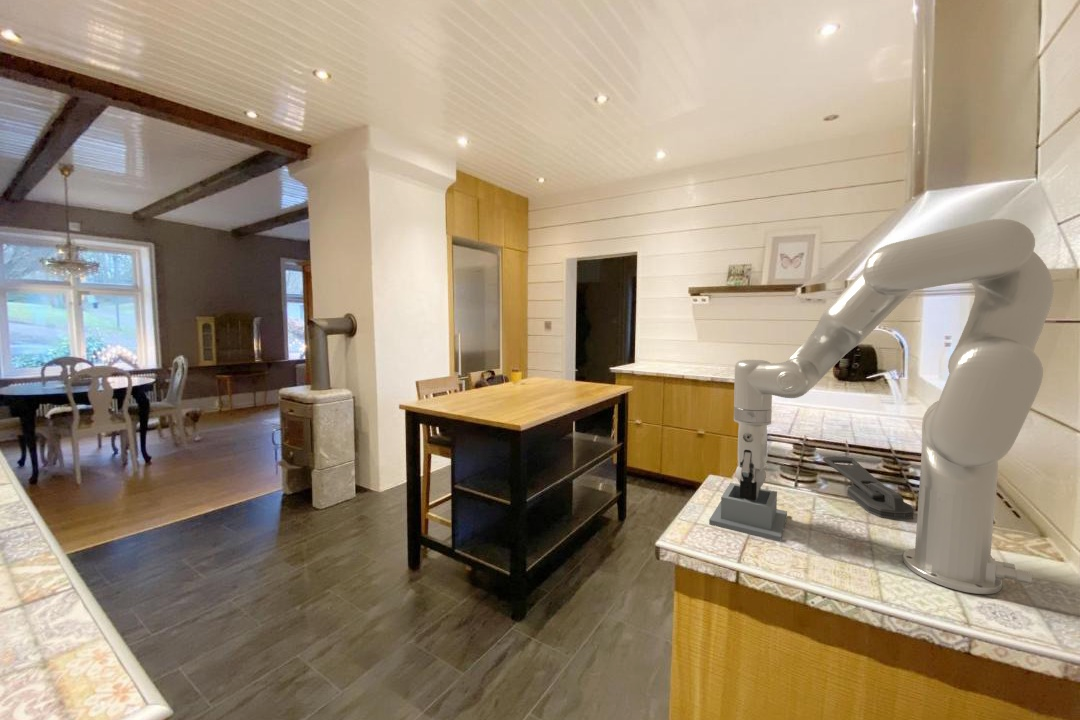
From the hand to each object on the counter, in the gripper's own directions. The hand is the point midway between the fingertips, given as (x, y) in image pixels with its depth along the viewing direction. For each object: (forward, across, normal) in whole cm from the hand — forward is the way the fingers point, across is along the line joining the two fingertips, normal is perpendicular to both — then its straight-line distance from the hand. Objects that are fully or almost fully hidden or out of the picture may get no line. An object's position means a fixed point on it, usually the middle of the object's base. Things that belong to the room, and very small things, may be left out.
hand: (750, 492), depth 96 cm
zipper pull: (+7, +29, -22) cm, 37 cm away
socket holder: (+6, 0, 0) cm, 6 cm away
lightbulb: (+4, 0, 0) cm, 4 cm away
